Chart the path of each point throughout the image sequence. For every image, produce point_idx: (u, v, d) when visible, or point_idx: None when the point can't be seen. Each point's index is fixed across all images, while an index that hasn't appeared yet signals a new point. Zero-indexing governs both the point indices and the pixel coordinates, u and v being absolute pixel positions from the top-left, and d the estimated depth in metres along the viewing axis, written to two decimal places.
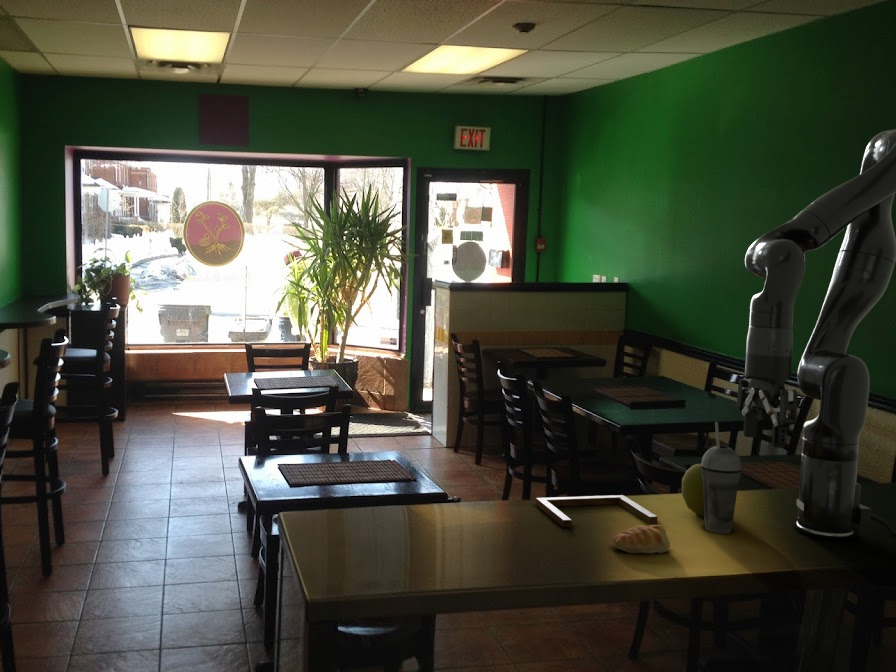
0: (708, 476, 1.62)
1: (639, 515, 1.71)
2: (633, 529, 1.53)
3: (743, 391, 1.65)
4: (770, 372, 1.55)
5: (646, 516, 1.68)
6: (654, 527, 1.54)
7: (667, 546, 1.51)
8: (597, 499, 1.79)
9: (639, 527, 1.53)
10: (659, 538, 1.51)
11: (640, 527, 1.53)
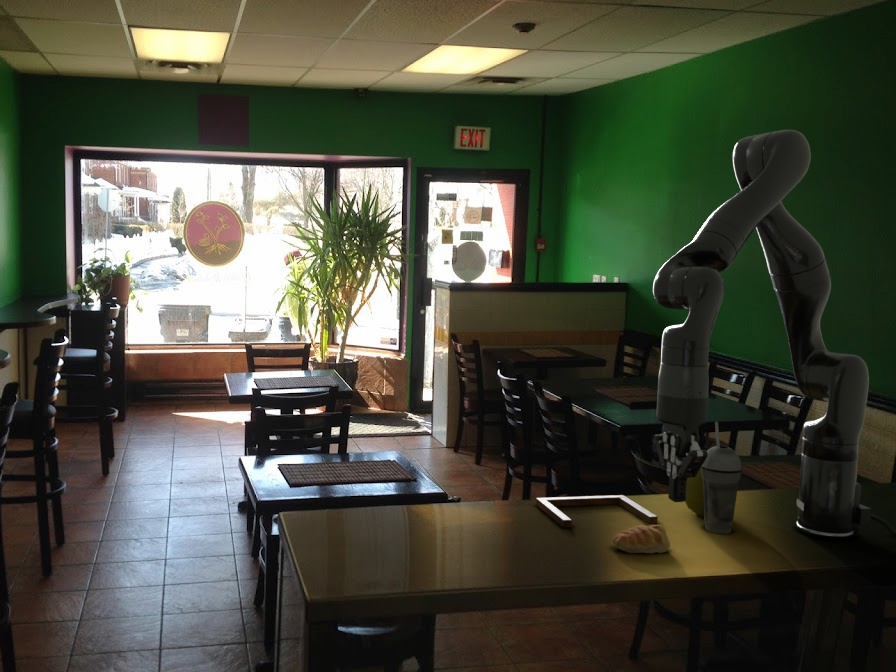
0: (708, 476, 1.62)
1: (639, 515, 1.71)
2: (633, 529, 1.53)
3: (661, 446, 1.45)
4: (681, 417, 1.37)
5: (646, 516, 1.68)
6: (654, 527, 1.54)
7: (667, 546, 1.51)
8: (597, 499, 1.79)
9: (639, 527, 1.53)
10: (659, 538, 1.51)
11: (640, 527, 1.53)
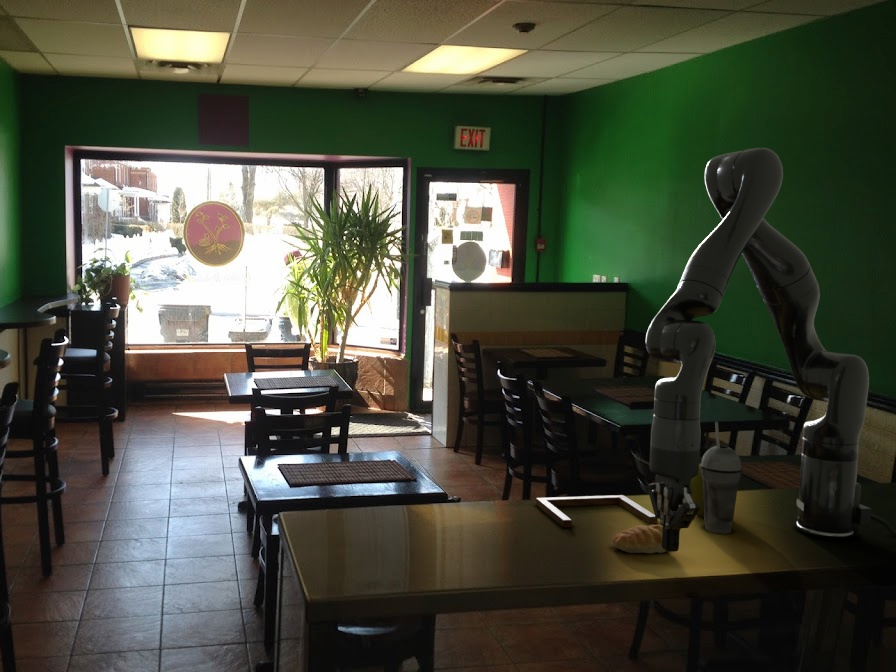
0: (708, 476, 1.62)
1: (639, 515, 1.71)
2: (633, 529, 1.53)
3: (655, 495, 1.47)
4: (674, 469, 1.39)
5: (646, 516, 1.68)
6: (654, 527, 1.54)
7: None
8: (597, 499, 1.79)
9: (639, 527, 1.53)
10: (659, 538, 1.51)
11: (640, 527, 1.53)
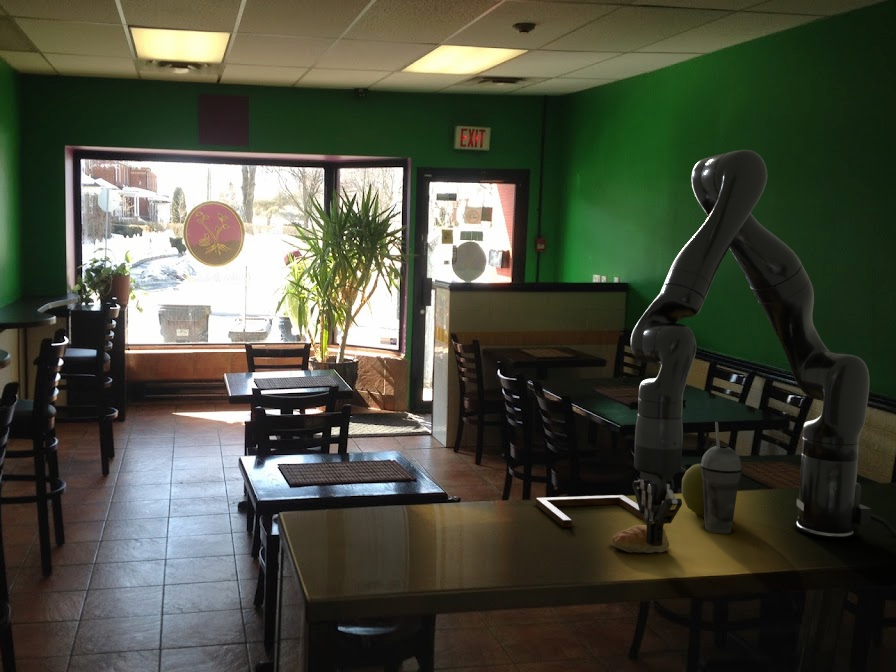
0: (708, 476, 1.62)
1: (639, 515, 1.71)
2: (632, 529, 1.53)
3: (639, 491, 1.52)
4: (657, 466, 1.44)
5: None
6: None
7: (666, 545, 1.51)
8: (597, 499, 1.79)
9: (638, 527, 1.53)
10: None
11: (639, 527, 1.53)
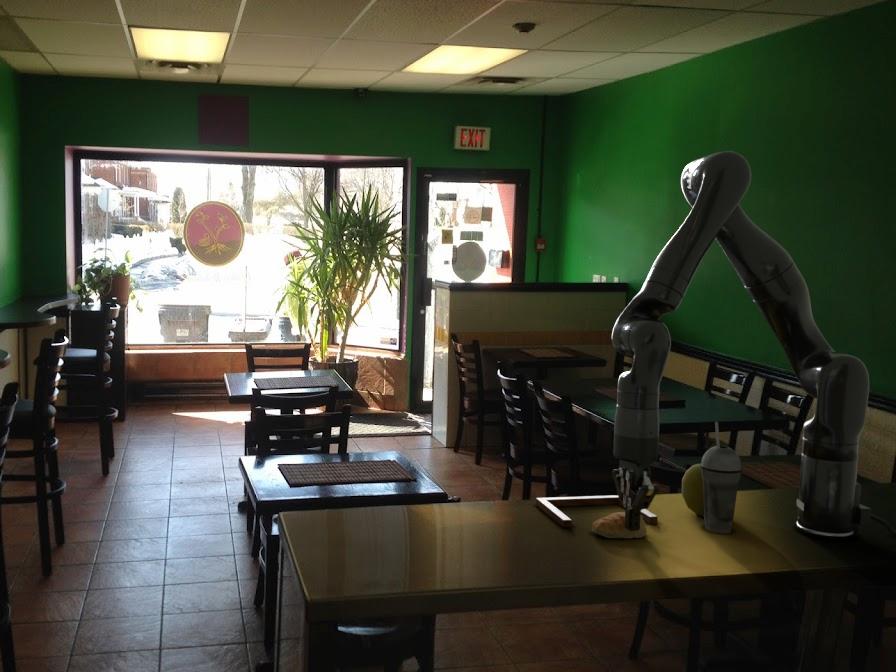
0: (708, 476, 1.62)
1: None
2: (612, 515, 1.60)
3: (619, 479, 1.60)
4: (635, 454, 1.52)
5: (646, 516, 1.68)
6: None
7: (644, 531, 1.59)
8: (597, 499, 1.79)
9: (618, 514, 1.61)
10: None
11: (619, 514, 1.61)
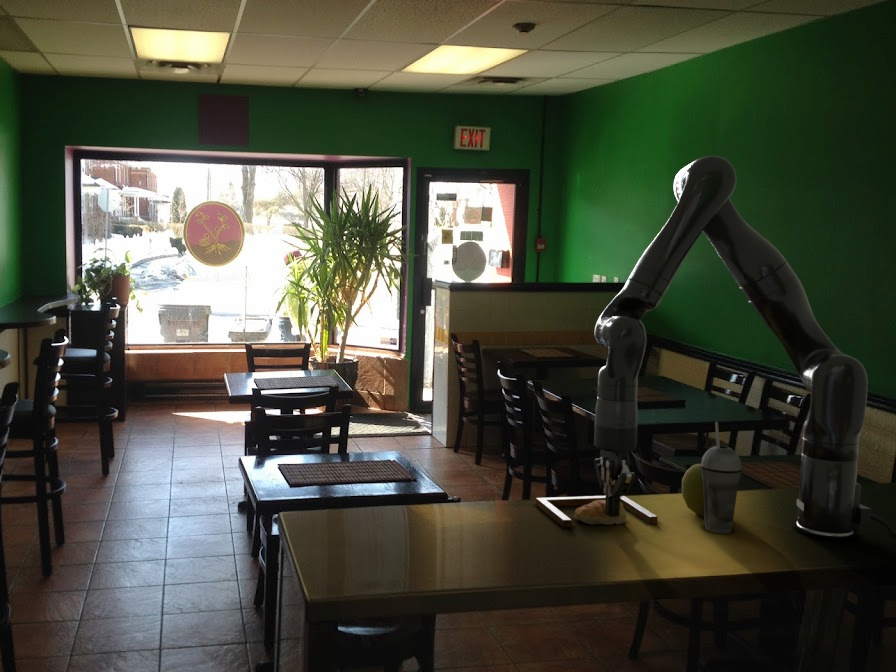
0: (708, 476, 1.62)
1: (639, 515, 1.71)
2: (593, 503, 1.68)
3: (600, 468, 1.68)
4: (614, 444, 1.60)
5: (646, 516, 1.68)
6: None
7: (624, 518, 1.66)
8: (597, 499, 1.79)
9: (599, 501, 1.69)
10: None
11: (600, 501, 1.68)
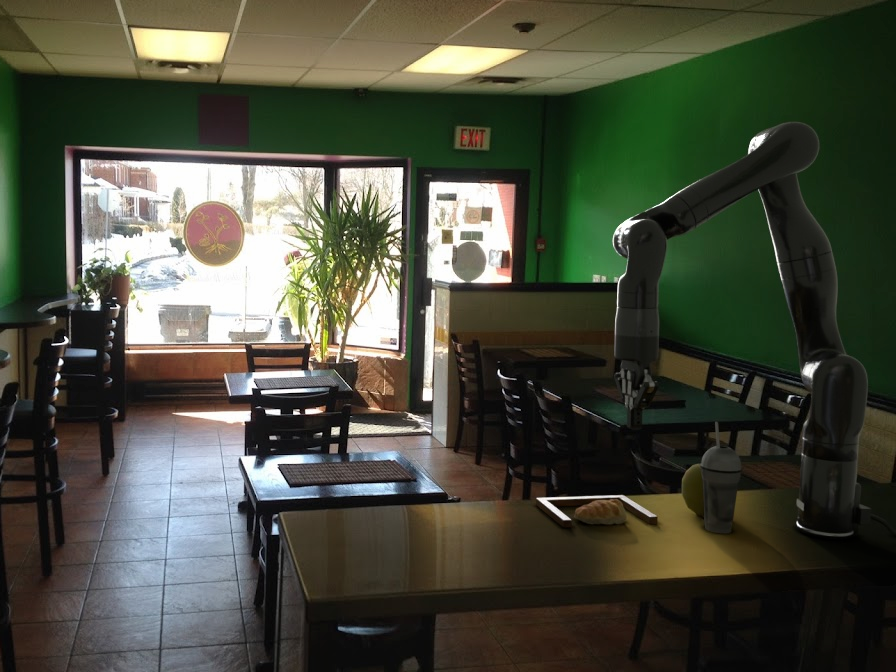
0: (708, 476, 1.62)
1: (639, 515, 1.71)
2: (593, 503, 1.68)
3: (620, 382, 1.63)
4: (635, 353, 1.55)
5: (646, 516, 1.68)
6: (613, 501, 1.69)
7: (624, 518, 1.66)
8: (597, 499, 1.79)
9: (599, 501, 1.69)
10: (617, 511, 1.66)
11: (600, 501, 1.68)
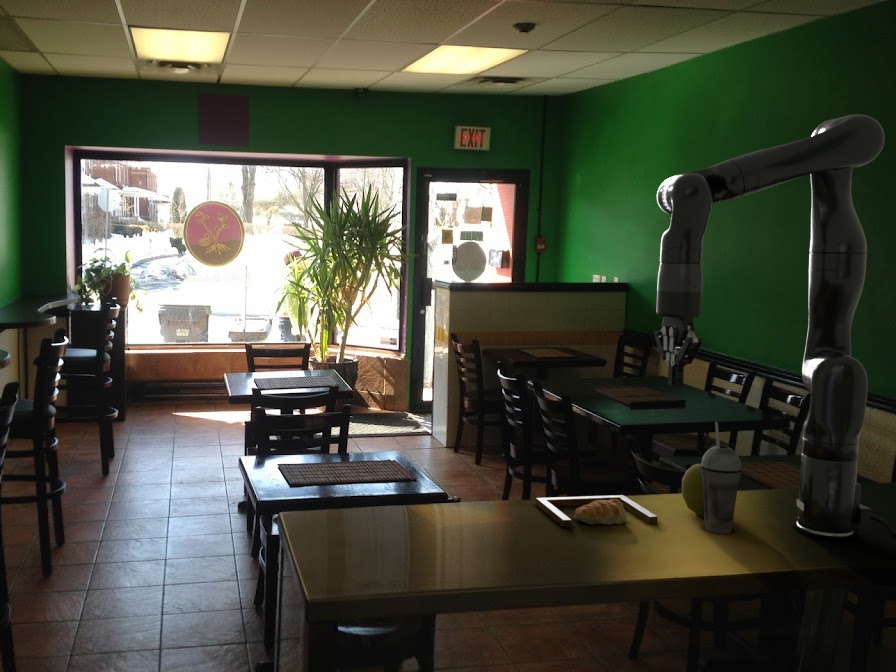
0: (708, 476, 1.62)
1: (639, 515, 1.71)
2: (593, 503, 1.68)
3: (661, 340, 1.61)
4: (679, 309, 1.54)
5: (646, 516, 1.68)
6: (613, 501, 1.69)
7: (624, 518, 1.66)
8: (597, 499, 1.79)
9: (599, 501, 1.69)
10: (617, 511, 1.66)
11: (600, 501, 1.68)
